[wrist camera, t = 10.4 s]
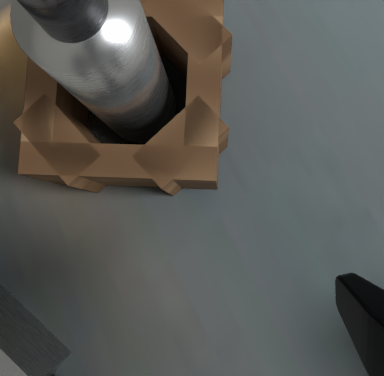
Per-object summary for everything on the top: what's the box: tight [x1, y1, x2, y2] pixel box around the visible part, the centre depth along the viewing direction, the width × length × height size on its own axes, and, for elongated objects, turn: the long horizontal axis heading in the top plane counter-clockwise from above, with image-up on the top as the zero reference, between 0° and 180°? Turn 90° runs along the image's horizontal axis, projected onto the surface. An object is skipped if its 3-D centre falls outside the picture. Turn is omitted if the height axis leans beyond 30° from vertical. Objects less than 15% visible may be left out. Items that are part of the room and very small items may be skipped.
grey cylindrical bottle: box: [10, 0, 176, 142], centre depth 15 cm, size 4×4×12 cm
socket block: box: [13, 0, 232, 196], centre depth 19 cm, size 10×10×4 cm
